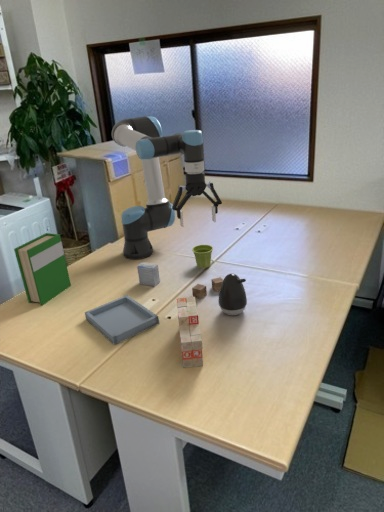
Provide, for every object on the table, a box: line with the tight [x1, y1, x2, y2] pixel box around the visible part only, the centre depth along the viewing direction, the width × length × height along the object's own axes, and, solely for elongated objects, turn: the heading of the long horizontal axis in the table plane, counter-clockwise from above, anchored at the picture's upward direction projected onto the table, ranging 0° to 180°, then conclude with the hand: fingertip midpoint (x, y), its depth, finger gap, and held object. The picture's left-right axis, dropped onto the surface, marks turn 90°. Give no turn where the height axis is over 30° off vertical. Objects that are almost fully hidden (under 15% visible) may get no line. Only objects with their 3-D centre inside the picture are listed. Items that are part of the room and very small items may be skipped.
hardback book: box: [13, 232, 72, 307], centre depth 166 cm, size 18×7×24 cm, turn 156°
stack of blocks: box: [176, 296, 204, 368], centre depth 128 cm, size 21×6×12 cm, turn 4°
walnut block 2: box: [210, 276, 224, 292], centre depth 163 cm, size 4×4×4 cm
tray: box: [84, 294, 160, 345], centre depth 146 cm, size 22×18×3 cm
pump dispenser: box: [218, 273, 248, 316], centre depth 144 cm, size 10×10×15 cm
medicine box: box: [136, 261, 161, 287], centre depth 171 cm, size 8×4×9 cm, turn 65°
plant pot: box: [191, 244, 214, 269], centre depth 183 cm, size 9×9×9 cm
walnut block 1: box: [191, 283, 208, 300], centre depth 159 cm, size 4×4×4 cm
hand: (198, 223), depth 165 cm, fingers open, 13 cm apart
